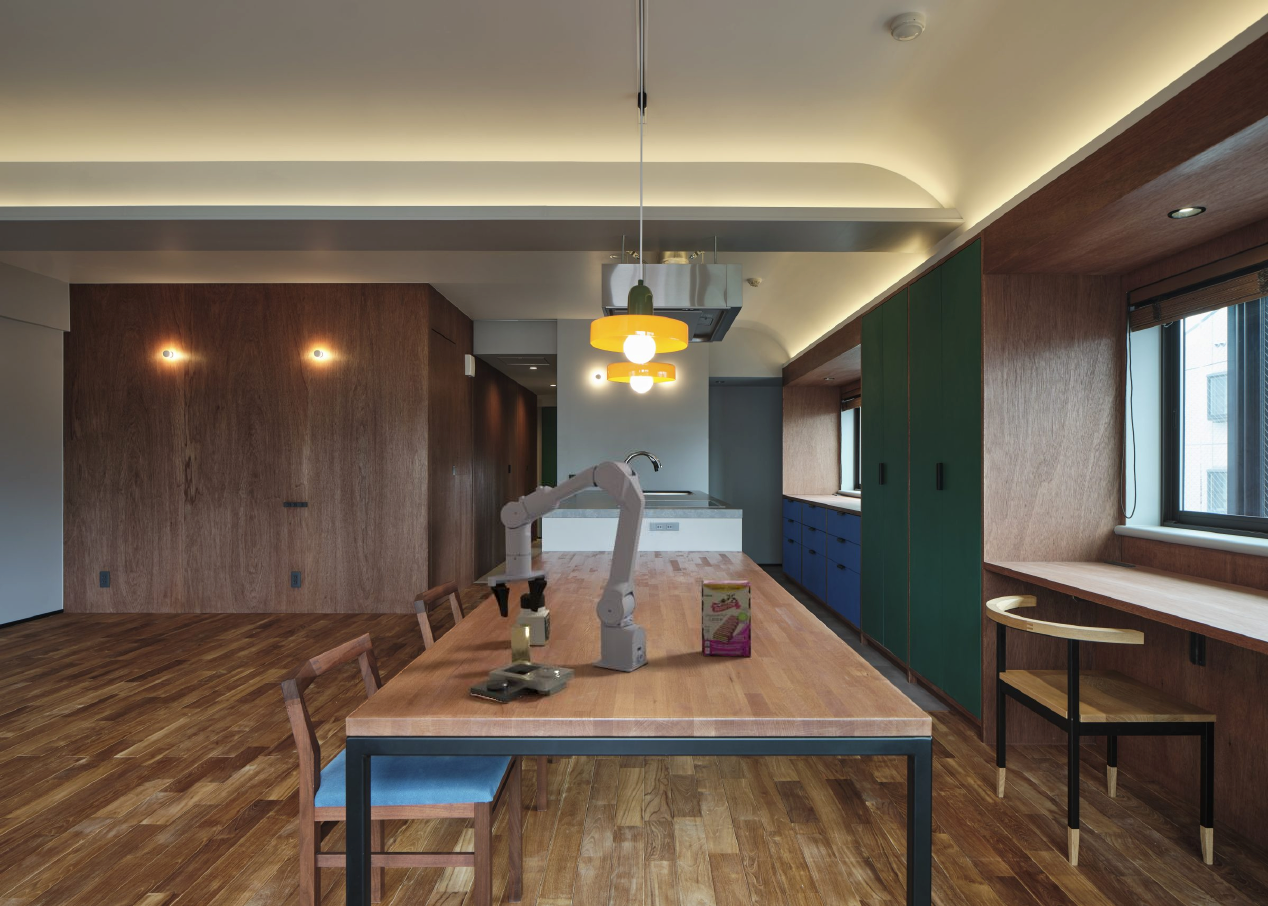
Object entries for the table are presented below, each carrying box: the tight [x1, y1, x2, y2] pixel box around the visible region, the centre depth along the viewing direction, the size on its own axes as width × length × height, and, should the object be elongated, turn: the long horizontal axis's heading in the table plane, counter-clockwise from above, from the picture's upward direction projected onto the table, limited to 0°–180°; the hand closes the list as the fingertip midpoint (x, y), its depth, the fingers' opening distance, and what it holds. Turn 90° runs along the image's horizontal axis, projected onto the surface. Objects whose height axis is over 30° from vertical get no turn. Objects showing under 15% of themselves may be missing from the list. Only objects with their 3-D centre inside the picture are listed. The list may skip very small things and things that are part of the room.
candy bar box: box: [701, 579, 752, 658], centre depth 146 cm, size 11×5×16 cm, turn 84°
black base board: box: [470, 671, 536, 704], centre depth 125 cm, size 14×9×2 cm, turn 150°
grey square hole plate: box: [488, 660, 575, 696], centre depth 126 cm, size 14×9×4 cm, turn 60°
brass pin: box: [510, 624, 531, 663], centre depth 138 cm, size 4×4×9 cm
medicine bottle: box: [515, 592, 551, 647], centre depth 159 cm, size 7×7×12 cm
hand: (519, 614), depth 147 cm, fingers open, 7 cm apart
